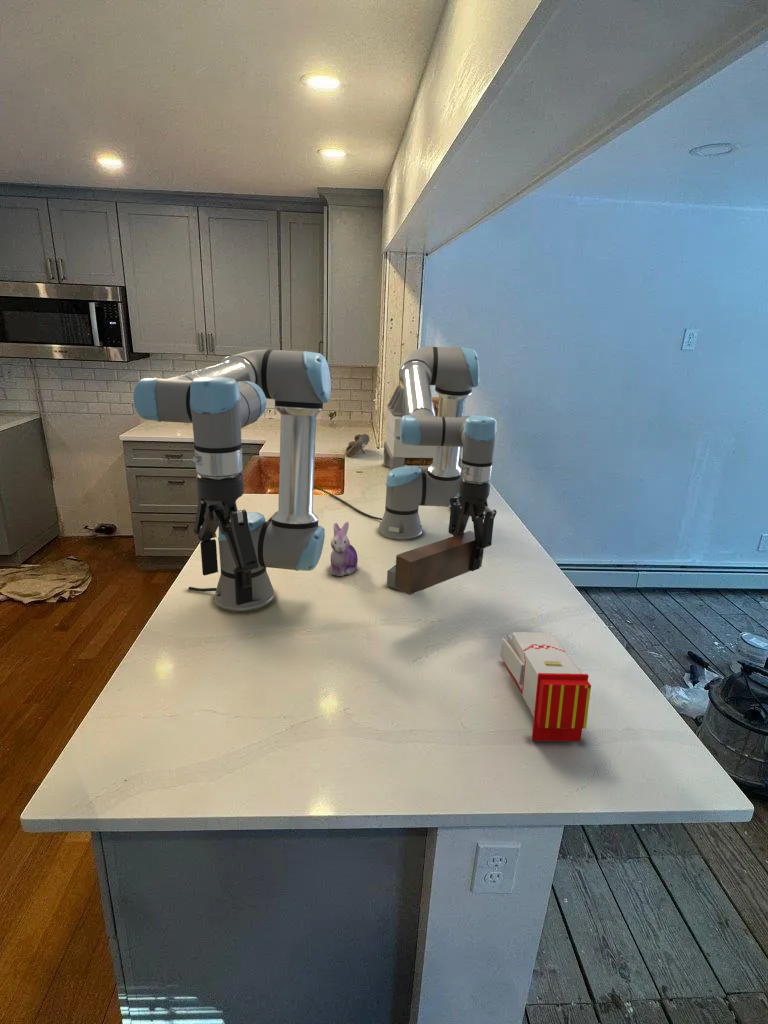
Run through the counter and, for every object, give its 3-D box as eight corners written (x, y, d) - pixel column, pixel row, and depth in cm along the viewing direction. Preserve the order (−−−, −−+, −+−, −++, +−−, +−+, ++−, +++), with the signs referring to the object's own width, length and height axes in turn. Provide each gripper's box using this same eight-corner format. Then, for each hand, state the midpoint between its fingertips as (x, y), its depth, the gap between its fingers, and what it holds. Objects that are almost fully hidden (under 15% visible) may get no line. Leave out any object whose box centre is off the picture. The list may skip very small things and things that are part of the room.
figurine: (335, 579, 164) (336, 531, 159) (322, 565, 172) (322, 519, 167) (364, 574, 168) (366, 527, 163) (350, 560, 177) (351, 515, 172)
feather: (284, 506, 225) (286, 502, 224) (266, 530, 198) (268, 525, 198) (280, 504, 225) (282, 500, 224) (261, 527, 198) (264, 523, 197)
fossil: (345, 440, 316) (366, 424, 311) (356, 453, 319) (377, 438, 314) (339, 453, 297) (361, 437, 292) (350, 467, 300) (373, 452, 295)
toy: (548, 616, 130) (600, 681, 101) (542, 669, 133) (592, 748, 104) (495, 615, 130) (533, 680, 101) (491, 669, 133) (526, 747, 103)
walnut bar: (408, 595, 132) (410, 562, 129) (394, 587, 135) (396, 554, 132) (481, 566, 148) (484, 536, 145) (467, 560, 151) (470, 530, 148)
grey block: (386, 586, 162) (387, 570, 160) (394, 579, 166) (395, 564, 164) (402, 591, 160) (403, 575, 158) (410, 584, 164) (411, 568, 162)
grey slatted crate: (382, 463, 289) (386, 382, 275) (445, 464, 293) (451, 384, 279) (390, 482, 257) (394, 392, 243) (460, 483, 261) (468, 394, 247)
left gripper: (169, 459, 101) (179, 567, 108) (232, 497, 83) (239, 623, 90) (209, 454, 105) (216, 557, 113) (277, 488, 88) (280, 609, 95)
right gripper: (438, 473, 144) (431, 557, 152) (494, 492, 131) (484, 582, 139) (458, 469, 148) (450, 550, 156) (514, 486, 136) (503, 574, 144)
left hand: (226, 587), depth 102 cm, fingers open, 13 cm apart
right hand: (466, 565), depth 148 cm, fingers closed on walnut bar, 5 cm apart
